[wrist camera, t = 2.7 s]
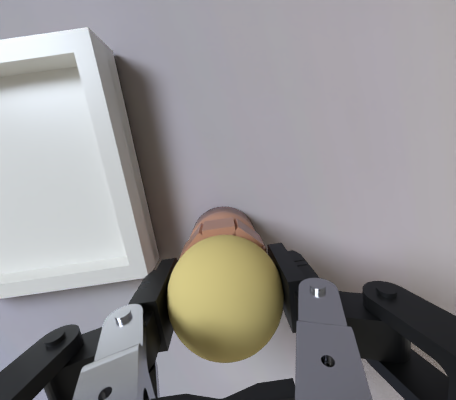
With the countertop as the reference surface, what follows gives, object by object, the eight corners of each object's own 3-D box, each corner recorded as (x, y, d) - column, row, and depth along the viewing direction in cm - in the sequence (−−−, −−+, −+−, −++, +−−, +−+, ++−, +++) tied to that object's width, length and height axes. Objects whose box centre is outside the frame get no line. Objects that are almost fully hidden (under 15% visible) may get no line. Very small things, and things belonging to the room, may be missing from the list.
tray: (-114, 83, 13) (-190, 67, 11) (112, 50, 13) (87, 27, 11) (-26, 285, 16) (-70, 309, 14) (159, 258, 16) (148, 277, 14)
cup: (187, 211, 15) (173, 235, 11) (250, 202, 15) (263, 222, 11) (198, 269, 16) (189, 312, 12) (258, 260, 16) (271, 300, 12)
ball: (171, 228, 11) (133, 282, 6) (264, 214, 11) (296, 259, 6) (188, 309, 12) (166, 408, 8) (273, 296, 12) (307, 388, 8)
